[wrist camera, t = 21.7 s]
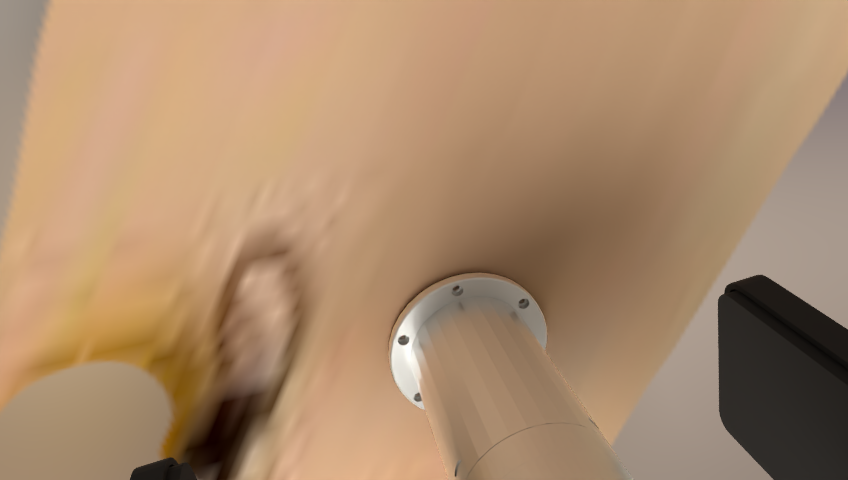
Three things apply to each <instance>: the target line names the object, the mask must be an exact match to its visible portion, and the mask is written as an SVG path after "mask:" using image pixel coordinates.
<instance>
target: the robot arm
mask: <svg viewBox="0 0 848 480" xmlns="http://www.w3.org/2000/svg"><path fill="white" fill-rule="evenodd" d="M455 286H457V287H456V288H454V287H455ZM402 335H403V336H402ZM718 335H719V336H718V344H719V412H720V417H721V420H722V422H723V424H724V426H725V428H726V430H727V431H728V432H729V433H730V434H731V435H732V436H733V437H734V439H736V440H737V442H738V443H739V444H740V445H741V446H742V447H743V448H744V449H745V450H746V451H747V452H748V453H749V454H750V455H751V456H752V457H753V458H754V459H755V461H756V462H758V464H759V465H760V466H761V467H762V468H763V469H764V470H765V471H766V472H767V473H768V474H769V475H770V476H771V477H772V478H773V479H774V480H848V329H846V328H844V327H843V326H842V325H840V324H838V323H836V322H835V321H834V320H832V319H831V318H829V317H828V316H826V315H825V314H823V313H822V312H820V311H818V310H817V309H815V308H814V307H812V306H811V305H809V304H808V303H806V302H805V301H803V300H802V299H800V298H798V297H797V296H795V295H794V294H792V293H791V292H789V291H788V290H786V289H785V288H783V287H782V286H780V285H779V284H777V283H775V282H774V281H772V280H771V279H769V278H767V277H766V276H763V275H756V276H753V277H750V278H746V279H743V280H740V281H737V282H733V283H731V284H729V285H727V286H726V288H725V293H724V294H723V295H721V296H720V297H719V299H718ZM546 345H547V326H546V322H545V318H544V315H543V313H542V311H541V309H540V307H539V306H538V304H537V302H536V301H535V300H534V298H533V297H532V296H531V295H530V293H528V292H527V291H526V290H525V289H524V288H523V287H522V286H521V285H519V284H517V283H516V282H514V281H512V280H510V279H508V278H505V277H502V276H499V275H496V274H489V273H466V274H461V275H457V276H453V277H449V278H446V279H444V280H442V281H440V282H437V283H435V284H433V285H431V286H430V287H428V288H427V289H425V290H424V291H422V292H421V293H420V294H418V295H417V296H416V297H415V298H414V299H413V300H412V301H411V302H410V303H409V304H408V305H407V306H406V308H405V309H404V310H403V312H402V313H401V314H400V315H399V317H398V319H397V321H396V323H395V325H394V327H393V330H392V333H391V337H390V340H389V350H388V358H389V364H390V369H391V372H392V375H393V378H394V381H395V383H396V385H397V387H398V388H399V390H400V392H401V393H402V394H403V395H404V396H405V397H406V398H407V399H408V400H409V401H410V402H411V403H413V404H414V405H416V406H417V407H418V408H420V409H422V410H425V411H426V414H427V417H428V420H429V423H430V426H431V429H432V432H433V435H434V438H435V441H436V444H437V447H438V450H439V453H440V456H441V459H442V462H443V465H444V468H445V471H446V474H447V477H448V480H634V479H633V478H632V476H631V475H630V474H629V472H628V471H627V469H626V468H625V466H624V465H623V464H622V462H621V461H620V459H619V458H618V456H617V455H616V453H615V452H614V451H613V449H612V448H611V446H610V445H609V443H608V442H607V441H606V439H605V438H604V436H603V435H602V433H601V432H600V430H599V428H598V427H597V426H596V424H595V423H594V421H593V420H592V418H591V417H590V415H589V414H588V413H587V411H586V410H585V408H584V407H583V405H582V404H581V402H580V401H579V400H578V398H577V397H576V395H575V394H574V392H573V391H572V389H571V388H570V387H569V385H568V384H567V382H566V381H565V379H564V378H563V376H562V375H561V374H560V372H559V371H558V369H557V368H556V366H555V365H554V363H553V362H552V360H551V359H550V358H549V356H548V355H547V353H546V352H545V351H546ZM130 480H197V478H196V476H195V474H194V472H193V470H192V468H191V467H190V465H189V464H188V463H181V464H178V463H177V461H176V460H175V459H173V458H167V459H163V460H160V461H157V462H154V463H151V464H147V465H144V466H141V467H138V468H136V469H134V471H133V472H132V475H131V478H130Z"/></svg>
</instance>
